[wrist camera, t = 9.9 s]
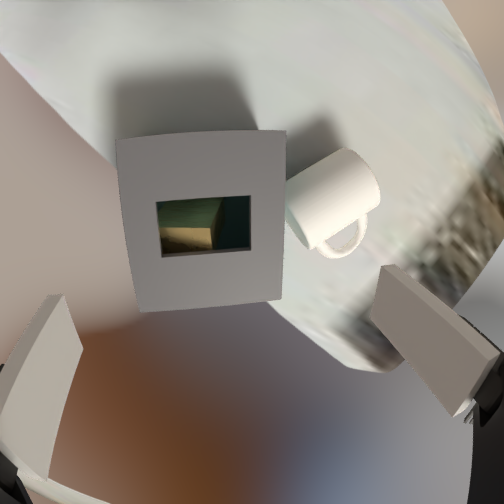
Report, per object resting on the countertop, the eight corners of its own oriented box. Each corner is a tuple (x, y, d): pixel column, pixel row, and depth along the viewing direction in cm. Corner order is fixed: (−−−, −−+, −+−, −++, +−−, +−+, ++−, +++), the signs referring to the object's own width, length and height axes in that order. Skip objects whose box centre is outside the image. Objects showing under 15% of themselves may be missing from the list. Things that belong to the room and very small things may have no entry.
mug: (264, 184, 35) (284, 198, 27) (331, 145, 34) (365, 149, 27) (307, 259, 40) (332, 287, 32) (364, 221, 39) (398, 240, 32)
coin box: (137, 138, 29) (115, 139, 20) (259, 131, 32) (286, 130, 23) (150, 268, 36) (139, 312, 26) (259, 259, 38) (281, 299, 29)
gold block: (174, 219, 33) (153, 254, 27) (170, 195, 31) (146, 227, 26) (225, 219, 33) (213, 256, 27) (223, 195, 31) (209, 228, 25)
